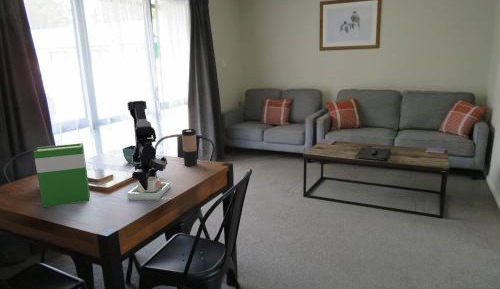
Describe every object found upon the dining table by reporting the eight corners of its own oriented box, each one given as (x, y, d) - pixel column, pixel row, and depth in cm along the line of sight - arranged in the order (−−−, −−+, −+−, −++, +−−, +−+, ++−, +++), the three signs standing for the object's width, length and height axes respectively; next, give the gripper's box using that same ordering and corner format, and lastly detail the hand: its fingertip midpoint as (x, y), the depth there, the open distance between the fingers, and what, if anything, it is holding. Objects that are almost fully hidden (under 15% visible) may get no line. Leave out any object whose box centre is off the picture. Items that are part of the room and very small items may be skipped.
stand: (141, 186, 170) (140, 172, 169) (150, 179, 180) (149, 165, 178) (161, 186, 169) (160, 172, 167) (169, 179, 178) (168, 166, 177)
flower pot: (145, 160, 213) (143, 146, 210) (136, 164, 205) (134, 149, 202) (132, 159, 215) (131, 145, 213) (123, 163, 207) (121, 148, 205)
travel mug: (181, 165, 201) (179, 131, 196) (188, 162, 208) (186, 128, 203) (193, 167, 198) (191, 132, 193) (200, 163, 205) (198, 129, 200)
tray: (128, 199, 155) (127, 192, 154) (142, 187, 168) (141, 181, 168) (158, 200, 153) (158, 194, 152) (170, 188, 166) (170, 182, 166)
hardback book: (42, 207, 148) (33, 151, 142) (45, 200, 155) (36, 147, 149) (89, 200, 154) (81, 146, 149) (89, 194, 161) (82, 143, 155)
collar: (157, 192, 156) (156, 182, 155) (138, 191, 157) (137, 181, 156) (163, 186, 163) (162, 177, 162) (145, 185, 164) (144, 176, 163)
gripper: (155, 160, 146) (158, 195, 150) (171, 148, 164) (173, 180, 168) (129, 159, 147) (133, 194, 151) (148, 148, 165) (151, 179, 169)
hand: (149, 187), depth 160 cm, fingers closed on collar, 7 cm apart
